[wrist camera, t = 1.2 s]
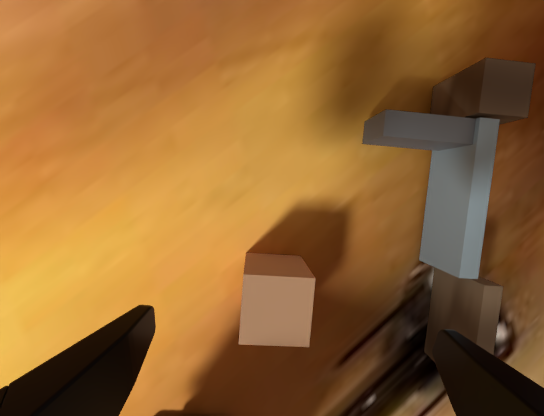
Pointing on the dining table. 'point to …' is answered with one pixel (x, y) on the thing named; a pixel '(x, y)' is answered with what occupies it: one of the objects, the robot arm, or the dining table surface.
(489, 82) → the grey-brown blocks
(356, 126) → the dining table surface
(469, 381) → the robot arm
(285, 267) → the tan rectangular block
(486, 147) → the grey l-shaped bracket
